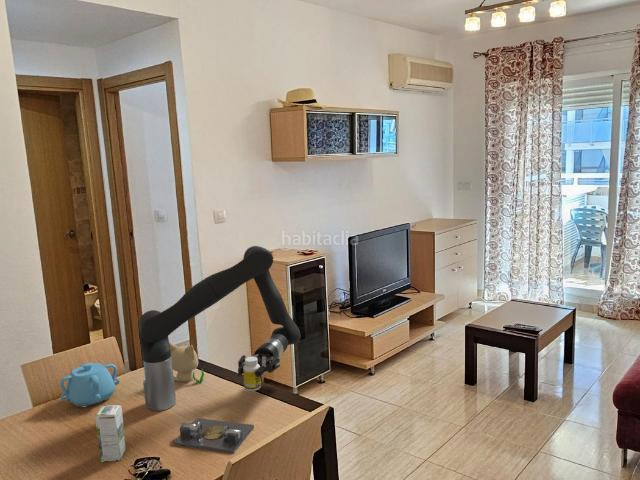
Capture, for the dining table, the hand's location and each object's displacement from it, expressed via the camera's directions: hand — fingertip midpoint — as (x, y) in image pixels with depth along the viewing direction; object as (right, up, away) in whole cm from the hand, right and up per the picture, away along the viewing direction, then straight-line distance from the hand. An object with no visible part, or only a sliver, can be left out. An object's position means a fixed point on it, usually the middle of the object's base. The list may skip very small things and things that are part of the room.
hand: (248, 373), depth 161 cm
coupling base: (-10, -18, -4) cm, 21 cm away
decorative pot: (-60, -16, +24) cm, 66 cm away
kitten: (-29, -12, +36) cm, 47 cm away
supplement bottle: (+1, -6, +3) cm, 7 cm away
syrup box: (-37, -21, -12) cm, 45 cm away
